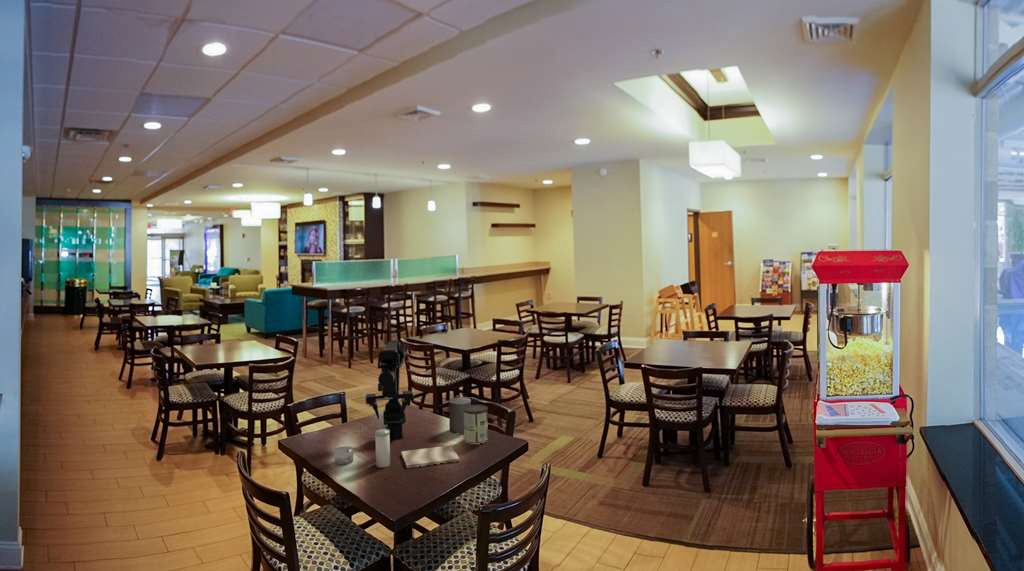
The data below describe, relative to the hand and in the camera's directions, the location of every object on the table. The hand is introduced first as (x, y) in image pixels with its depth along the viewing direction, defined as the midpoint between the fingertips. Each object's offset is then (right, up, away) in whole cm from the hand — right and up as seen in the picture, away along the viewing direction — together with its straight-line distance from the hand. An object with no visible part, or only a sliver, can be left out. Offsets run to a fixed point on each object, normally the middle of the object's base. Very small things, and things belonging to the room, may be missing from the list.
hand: (390, 418), depth 232 cm
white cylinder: (+1, -14, -16) cm, 21 cm away
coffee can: (+34, -12, +10) cm, 38 cm away
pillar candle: (+26, -11, +24) cm, 37 cm away
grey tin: (-15, -14, -12) cm, 24 cm away
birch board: (+17, -13, -9) cm, 24 cm away
